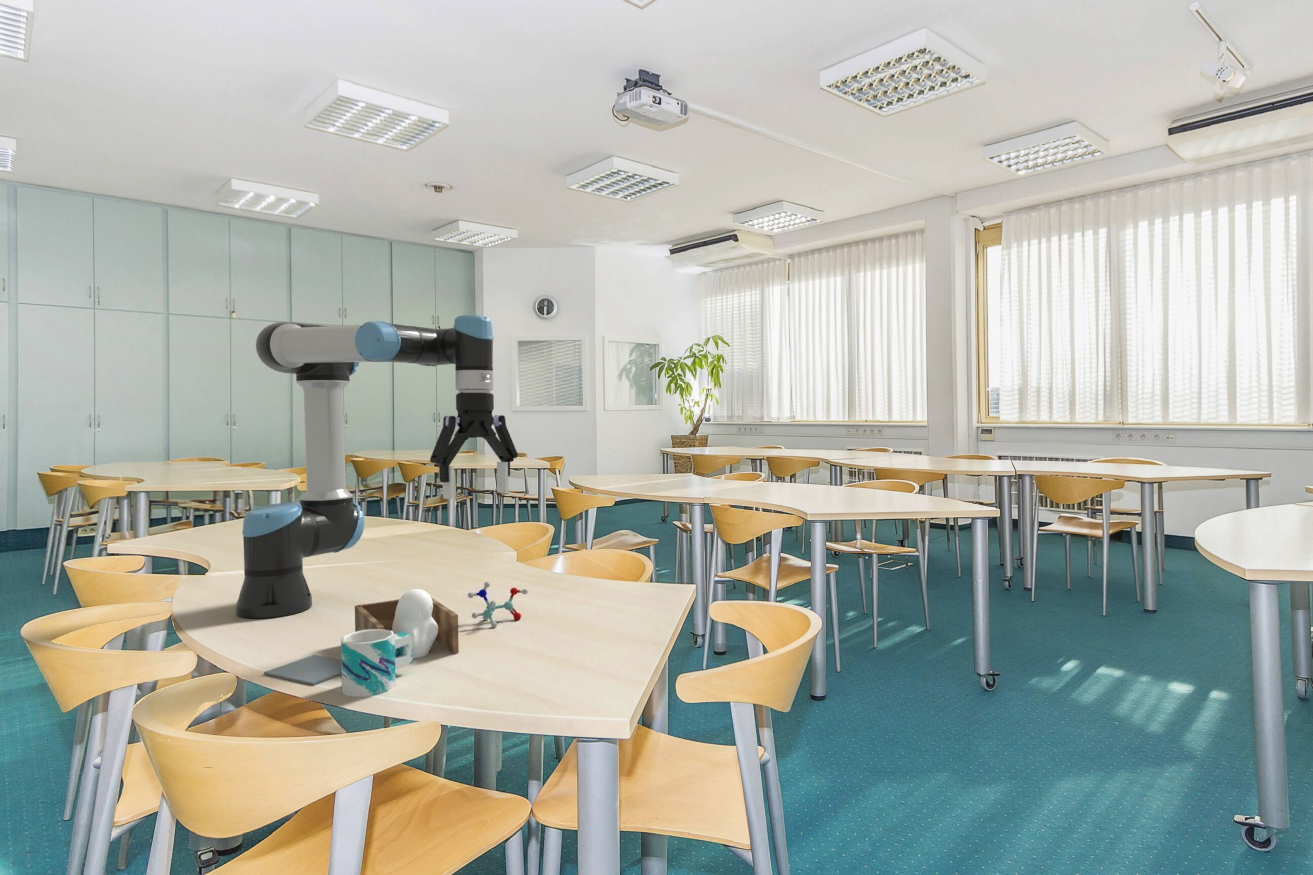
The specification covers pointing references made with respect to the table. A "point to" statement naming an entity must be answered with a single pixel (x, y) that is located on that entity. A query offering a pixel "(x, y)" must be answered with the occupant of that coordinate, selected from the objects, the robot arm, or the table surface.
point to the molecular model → (491, 605)
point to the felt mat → (308, 670)
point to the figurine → (416, 621)
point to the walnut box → (384, 615)
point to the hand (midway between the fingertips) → (476, 495)
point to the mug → (373, 660)
